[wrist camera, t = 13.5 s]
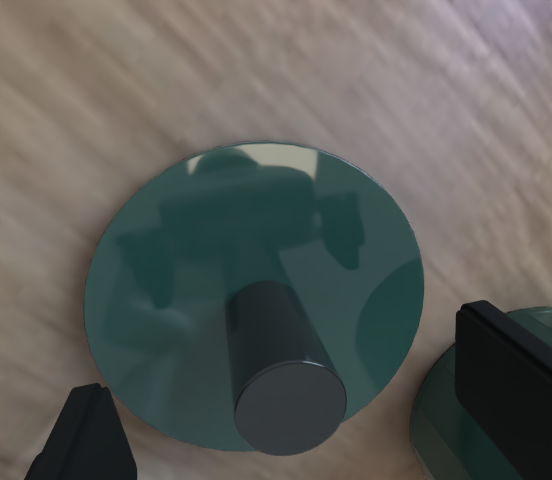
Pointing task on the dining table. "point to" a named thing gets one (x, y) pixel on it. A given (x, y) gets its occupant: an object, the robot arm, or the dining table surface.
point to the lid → (254, 297)
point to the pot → (462, 419)
